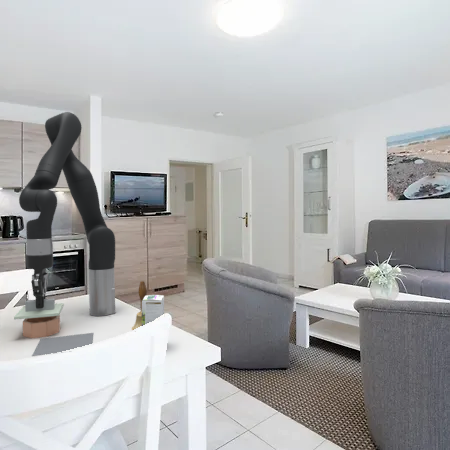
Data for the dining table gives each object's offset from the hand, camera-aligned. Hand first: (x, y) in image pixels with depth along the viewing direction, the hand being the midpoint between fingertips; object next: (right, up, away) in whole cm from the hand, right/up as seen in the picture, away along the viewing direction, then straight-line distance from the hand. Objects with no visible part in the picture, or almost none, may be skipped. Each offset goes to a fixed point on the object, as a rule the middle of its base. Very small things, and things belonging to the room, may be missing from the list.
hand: (40, 306), depth 109 cm
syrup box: (+38, -9, -11) cm, 41 cm away
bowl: (0, -9, 0) cm, 9 cm away
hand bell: (+32, -9, +4) cm, 33 cm away
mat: (+12, -9, -9) cm, 18 cm away
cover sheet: (0, -2, 0) cm, 2 cm away
